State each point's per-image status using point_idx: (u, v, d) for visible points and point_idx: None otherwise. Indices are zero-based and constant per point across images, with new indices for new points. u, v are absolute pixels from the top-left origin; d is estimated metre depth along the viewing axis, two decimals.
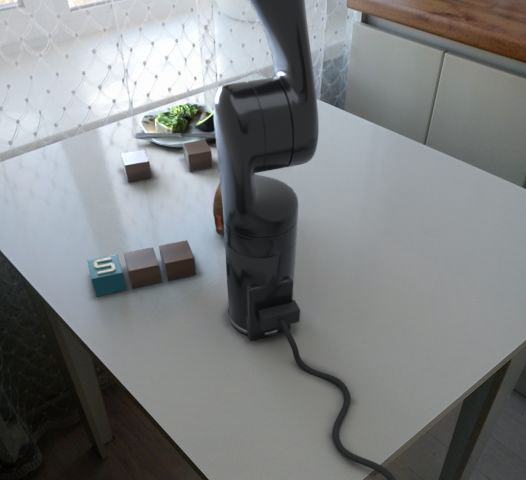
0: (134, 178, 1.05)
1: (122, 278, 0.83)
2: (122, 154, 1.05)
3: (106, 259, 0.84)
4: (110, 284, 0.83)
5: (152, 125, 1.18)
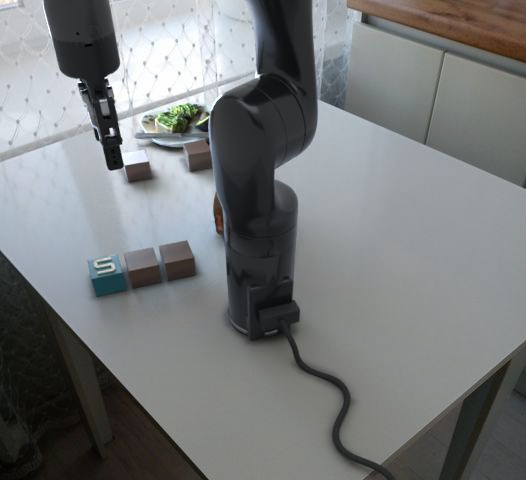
0: (134, 178, 1.05)
1: (122, 278, 0.83)
2: (122, 154, 1.05)
3: (106, 259, 0.84)
4: (110, 284, 0.83)
5: (152, 125, 1.18)
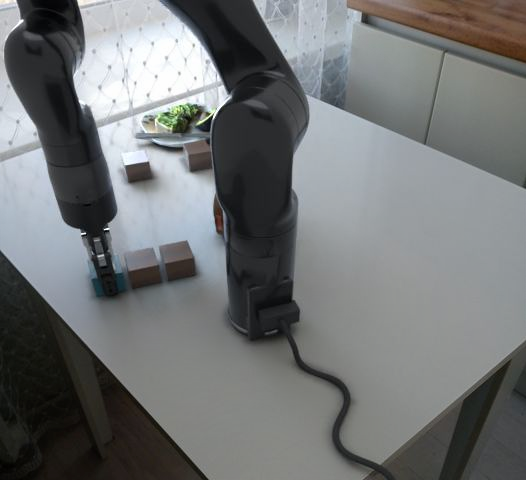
0: (134, 178, 1.05)
1: (122, 278, 0.83)
2: (122, 154, 1.05)
3: None
4: None
5: (152, 125, 1.18)
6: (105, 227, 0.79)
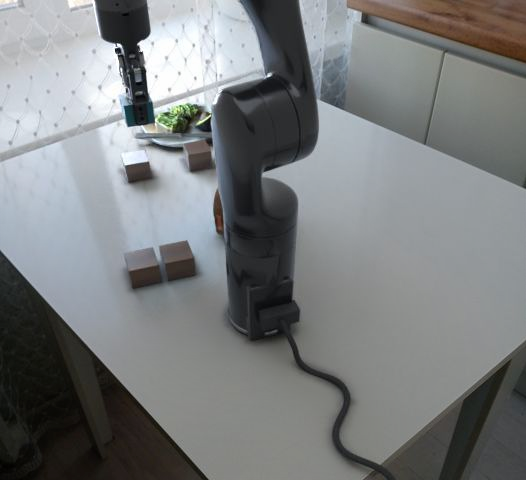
0: (134, 178, 1.05)
1: (152, 108, 0.88)
2: (122, 154, 1.05)
3: (136, 92, 0.89)
4: None
5: (152, 125, 1.18)
6: None
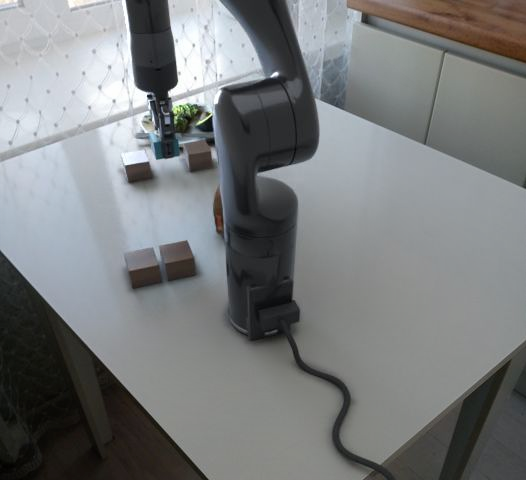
0: (134, 178, 1.05)
1: (177, 144, 1.03)
2: (122, 154, 1.05)
3: None
4: None
5: (152, 125, 1.18)
6: None
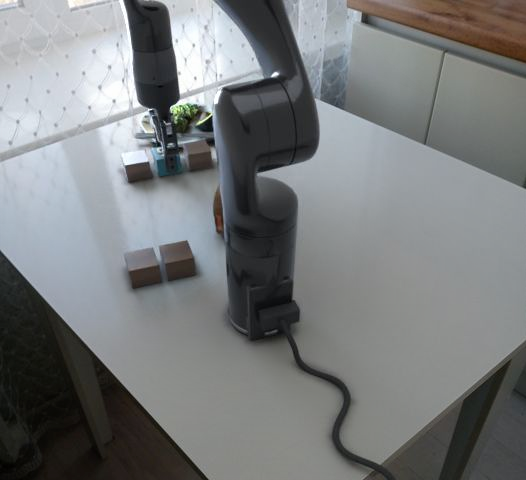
0: (134, 178, 1.05)
1: (179, 161, 1.05)
2: (122, 154, 1.05)
3: None
4: None
5: None
6: None
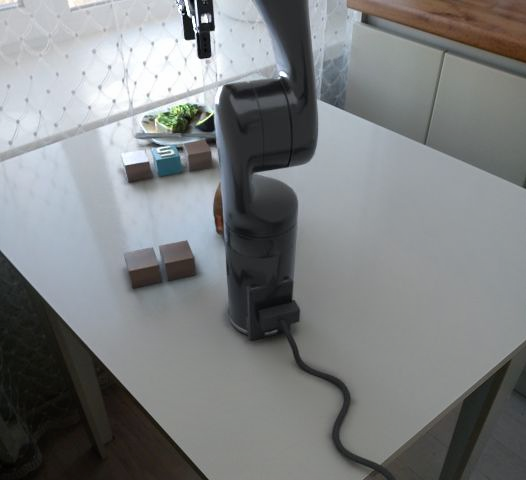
0: (134, 178, 1.05)
1: (179, 161, 1.05)
2: (122, 154, 1.05)
3: (166, 147, 1.06)
4: (170, 166, 1.05)
5: (152, 125, 1.18)
6: None
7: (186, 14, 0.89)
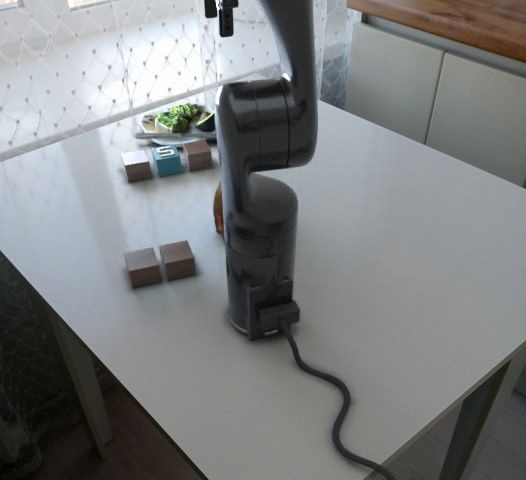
0: (134, 178, 1.05)
1: (179, 161, 1.05)
2: (122, 154, 1.05)
3: (166, 147, 1.06)
4: (170, 166, 1.05)
5: (152, 125, 1.18)
6: None
7: None
